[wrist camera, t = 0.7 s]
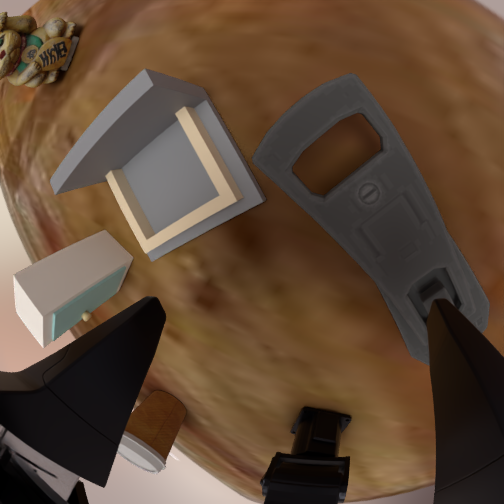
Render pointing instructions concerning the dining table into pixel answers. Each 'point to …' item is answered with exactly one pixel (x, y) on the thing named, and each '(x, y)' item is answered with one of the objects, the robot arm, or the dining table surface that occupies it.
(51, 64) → the decorative figurine
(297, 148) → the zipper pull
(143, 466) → the disposable coffee cup
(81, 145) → the board
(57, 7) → the dining table surface
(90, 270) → the white cabinet
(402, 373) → the dining table surface
